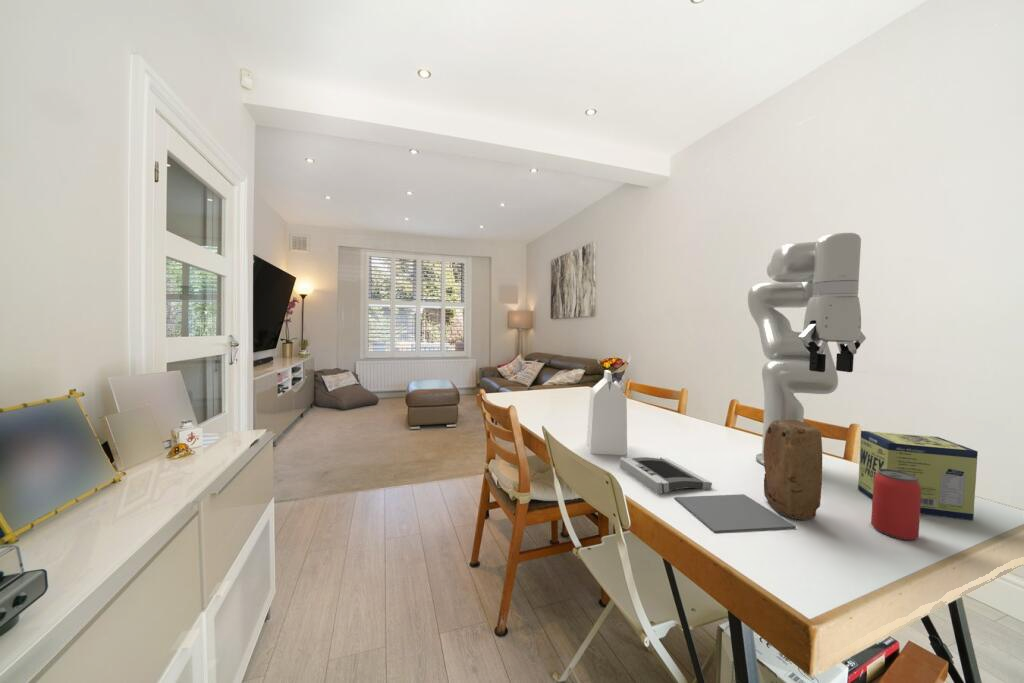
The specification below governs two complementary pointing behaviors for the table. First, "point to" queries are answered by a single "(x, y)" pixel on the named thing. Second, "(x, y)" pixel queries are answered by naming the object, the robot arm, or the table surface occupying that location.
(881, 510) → the beer can
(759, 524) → the mat
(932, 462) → the protein box
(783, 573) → the table surface
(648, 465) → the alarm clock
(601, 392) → the milk
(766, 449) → the block
